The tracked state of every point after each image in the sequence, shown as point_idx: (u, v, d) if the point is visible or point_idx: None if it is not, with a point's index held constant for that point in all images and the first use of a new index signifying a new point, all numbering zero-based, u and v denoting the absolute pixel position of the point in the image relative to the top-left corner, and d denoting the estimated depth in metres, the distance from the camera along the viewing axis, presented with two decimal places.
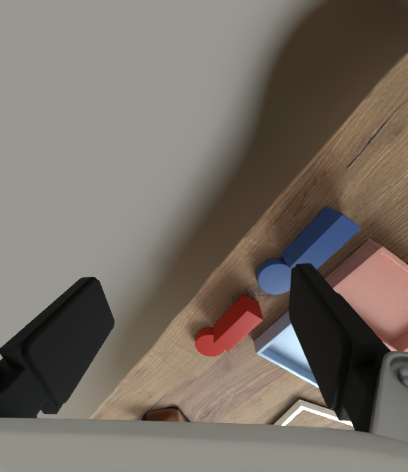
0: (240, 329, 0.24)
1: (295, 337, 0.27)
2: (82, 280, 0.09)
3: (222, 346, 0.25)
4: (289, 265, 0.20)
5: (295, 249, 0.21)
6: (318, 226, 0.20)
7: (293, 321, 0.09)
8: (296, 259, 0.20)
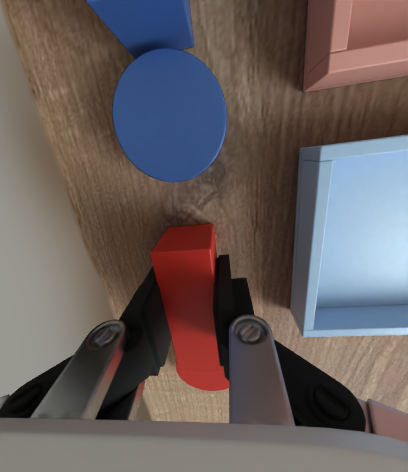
0: (190, 310, 0.08)
1: (378, 241, 0.09)
2: None
3: (201, 368, 0.10)
4: None
5: None
6: None
7: None
8: None
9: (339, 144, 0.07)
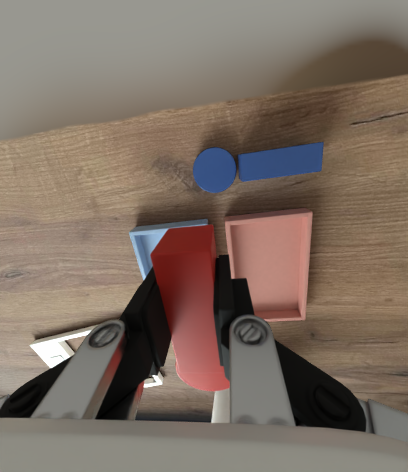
0: (190, 311, 0.08)
1: None
2: None
3: (201, 369, 0.10)
4: None
5: None
6: None
7: None
8: (253, 152, 0.17)
9: None
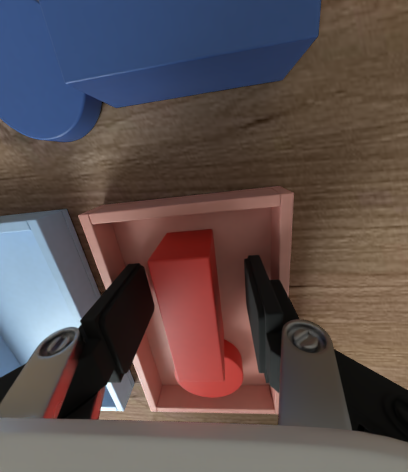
0: (189, 318, 0.08)
1: (17, 277, 0.12)
2: (130, 266, 0.10)
3: (200, 377, 0.09)
4: None
5: None
6: None
7: (247, 307, 0.10)
8: None
9: (41, 232, 0.09)
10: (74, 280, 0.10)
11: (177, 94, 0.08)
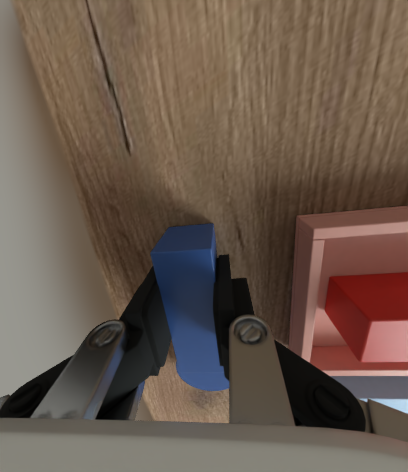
0: None
1: None
2: None
3: None
4: None
5: None
6: None
7: None
8: (176, 355, 0.10)
9: None
10: (355, 388, 0.12)
11: None
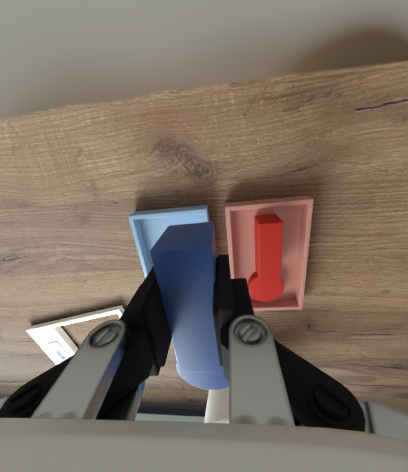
0: (270, 248, 0.20)
1: None
2: None
3: (270, 278, 0.22)
4: None
5: None
6: None
7: None
8: (175, 353, 0.10)
9: (206, 214, 0.21)
10: None
11: None
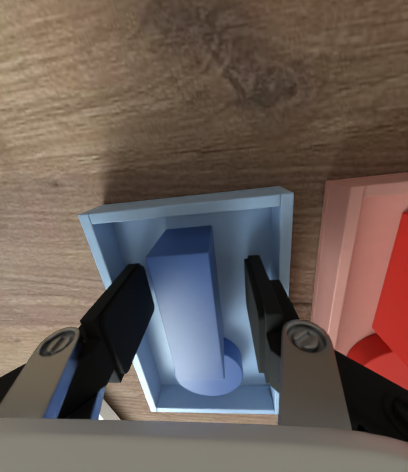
0: None
1: None
2: (130, 266, 0.10)
3: None
4: None
5: None
6: None
7: (247, 306, 0.10)
8: (173, 361, 0.09)
9: (292, 208, 0.08)
10: None
11: (219, 297, 0.11)
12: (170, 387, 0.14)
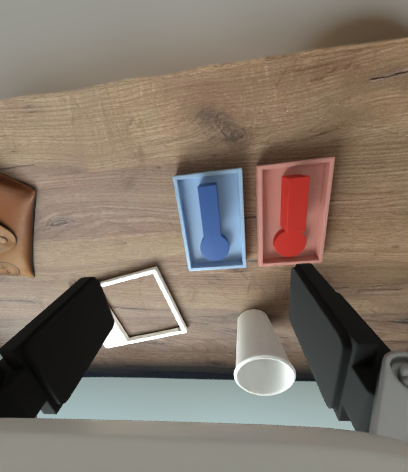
0: (298, 201, 0.24)
1: None
2: (82, 280, 0.09)
3: (296, 229, 0.25)
4: None
5: None
6: None
7: (293, 321, 0.09)
8: None
9: (241, 173, 0.24)
10: (242, 196, 0.26)
11: (219, 212, 0.28)
12: (196, 263, 0.31)
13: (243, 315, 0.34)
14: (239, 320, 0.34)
